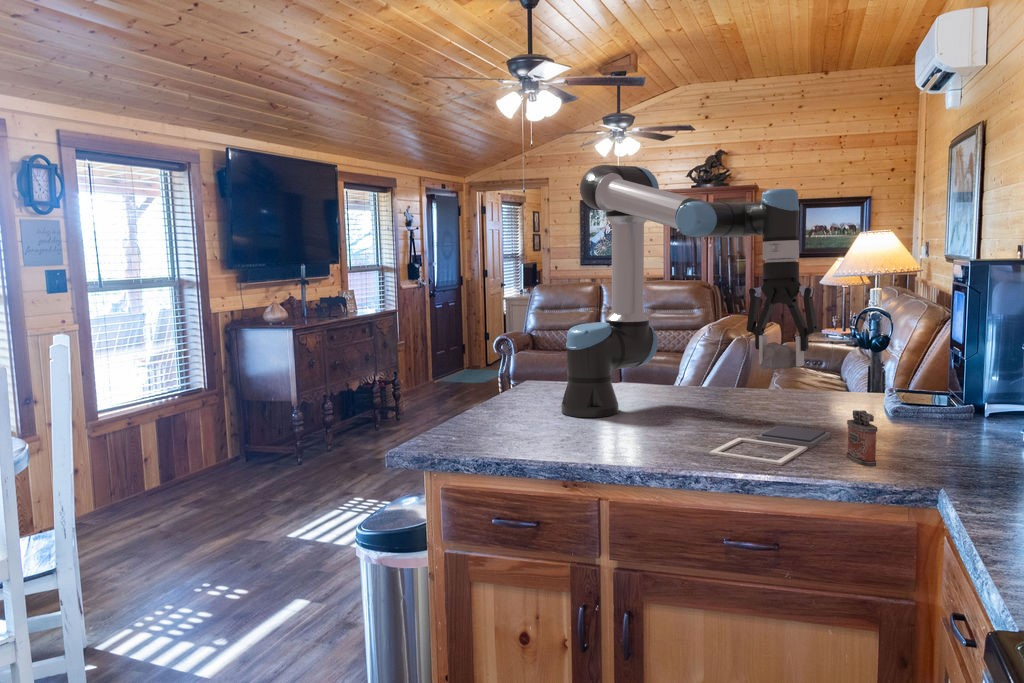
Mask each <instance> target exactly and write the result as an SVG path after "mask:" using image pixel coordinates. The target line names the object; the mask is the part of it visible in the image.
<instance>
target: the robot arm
mask: <svg viewBox="0 0 1024 683" xmlns="http://www.w3.org/2000/svg"><path fill="white" fill-rule="evenodd" d="M579 194H580V197H581V199H582V200H583V202H584V203H585V204H586V205H587V206H588V207H589V208H591V209H594V210H598V211H599V210H600V211H603V212H605V216H606V217H605V219H607V220H608V221H609V223H610V224H611V311H610V314H609V315H608V316H607V317H606V318H605V321H604V322H603V321H602V322H599V321H598V322H595V321H594V322H588V323H582V324H578V325H575V326H572V327H570V328H569V329H568V330H567V334H566V342H565V344H566V345H565V346H566V364H567V367H566V368H567V369H566V371H567V373H566V374H567V375H566V376H567V377H566V378H567V383H566V388H565V391H564V395H563V398H562V401H561V404H560V406H561V408H560V409H561V413H562V414H563V415H566V416H570V417H577V418H604V417H610V416H613V415H617V414H618V413H619V402H618V400H617V398H618V397H617V395H616V393H615V392H616V391H615V390H614V386H613V382H612V371H613V370H619V369H621V370H622V369H629V368H631V369H632V368H638V367H641V366H644V365H647V364H648V363H650V362H651V361H652V360H653V358H654V357H655V355H656V353H657V350H658V346H659V344H658V343H659V342H658V335H657V333H656V331H655V328H654V327H653V326H652V325H650V318H649V317H648V316H647V315H646V314H645V313H644V287H645V285H644V283H645V282H644V280H645V279H644V278H645V277H644V275H645V274H644V273H645V272H644V271H645V269H644V266H645V265H644V263H645V258H644V257H645V254H644V253H645V223H646V222H647V221H650V222H654V223H656V224H660V225H664V226H667V227H670V228H673V229H676V230H679V231H680V233H681V234H682V235H684V236H686V237H691V238H697V239H699V238H707V237H709V238H711V237H712V238H713V237H714V238H715V237H718V238H719V237H720V238H721V237H723V238H736V239H737V238H740V237H741V238H742V237H750V236H751V237H752V236H761V235H762V236H761V239H762V260H763V261H765V262H763V264H762V284H761V285H760V286H759V287H752V288H749V290H748V294H749V299H750V301H749V307H748V315H747V322H746V324H747V325H746V332H748V333H750V334H753V335H754V344H755V345H754V346H755V350H758V353H759V355H758V365H759V366H760V365H761V363H762V359H763V358H764V351H765V347H766V345H767V344H768V334H765V333H766V332H765V331H766V328H767V326H768V323H769V320H770V317H771V314H772V312H773V309H774V307H775V306H776V305H777V304H782V305H785V304H786V307H787V308H788V310H789V312H790V314H791V317H792V319H793V322H794V324H795V327H796V329H797V331H798V336H796V337H795V350H796V367H795V368H801V367H803V366H805V352H806V351H808V350H809V336H810V335H812V334H815V333H817V332H818V324H817V319H816V318H817V317H816V310H815V304H814V298H813V297H814V293H815V288H814V287H813V286H809V287H808V286H802V285H801V283H800V263H799V261H797V260H798V259H799V258H800V240H799V239H800V238H799V228H800V227H799V226H800V225H799V220H800V205H799V204H800V203H799V193H798V191H797V190H795V189H793V188H774V189H772V188H771V189H767V190H764V191H763V192H762V194H761V200H759V201H758V200H757V201H752V202H750V201H749V202H714V201H713V202H712V201H705V200H701V199H698V198H694V197H690V196H686V195H682V194H679V193H676V192H670V191H667V190H663V189H660V188H659V183H658V180H657V178H656V176H655V175H654V174H653V173H652V172H651V171H650V170H649V169H647V168H645V167H639V166H636V165H613V164H612V165H610V164H600V165H596V166H593V167H591V168H589V169H588V170H587V171H586V172H585V173H584V175H583V176H582V178H581V180H580V182H579ZM762 293H763V295H764V296H765V297H766V299H765V301H764V303H763V309H762V311H761V314H760V316H759V307H760V302H761V296H762ZM799 293H800V294H801V297H803V298H802V300H803V307H804V308H803V309H804V313H805V315H804V316H805V319H806V320H805V319H804V316H803V314H802V312H801V310H800V307H799V302H798V300H797V298H796V297H797V295H799ZM758 316H759V319H758ZM805 321H806V322H805Z"/></svg>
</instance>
